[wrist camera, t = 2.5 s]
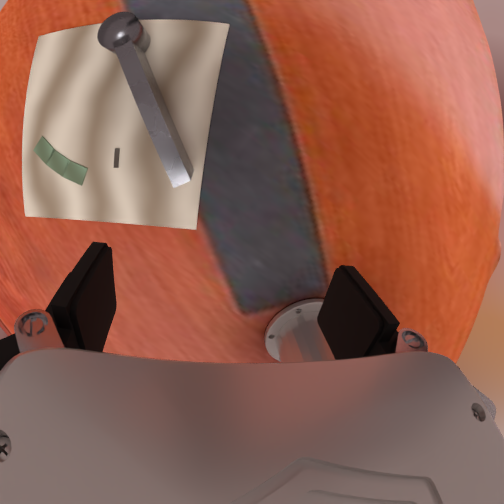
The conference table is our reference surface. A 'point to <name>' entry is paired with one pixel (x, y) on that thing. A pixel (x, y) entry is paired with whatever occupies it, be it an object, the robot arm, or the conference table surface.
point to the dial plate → (116, 125)
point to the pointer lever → (146, 91)
